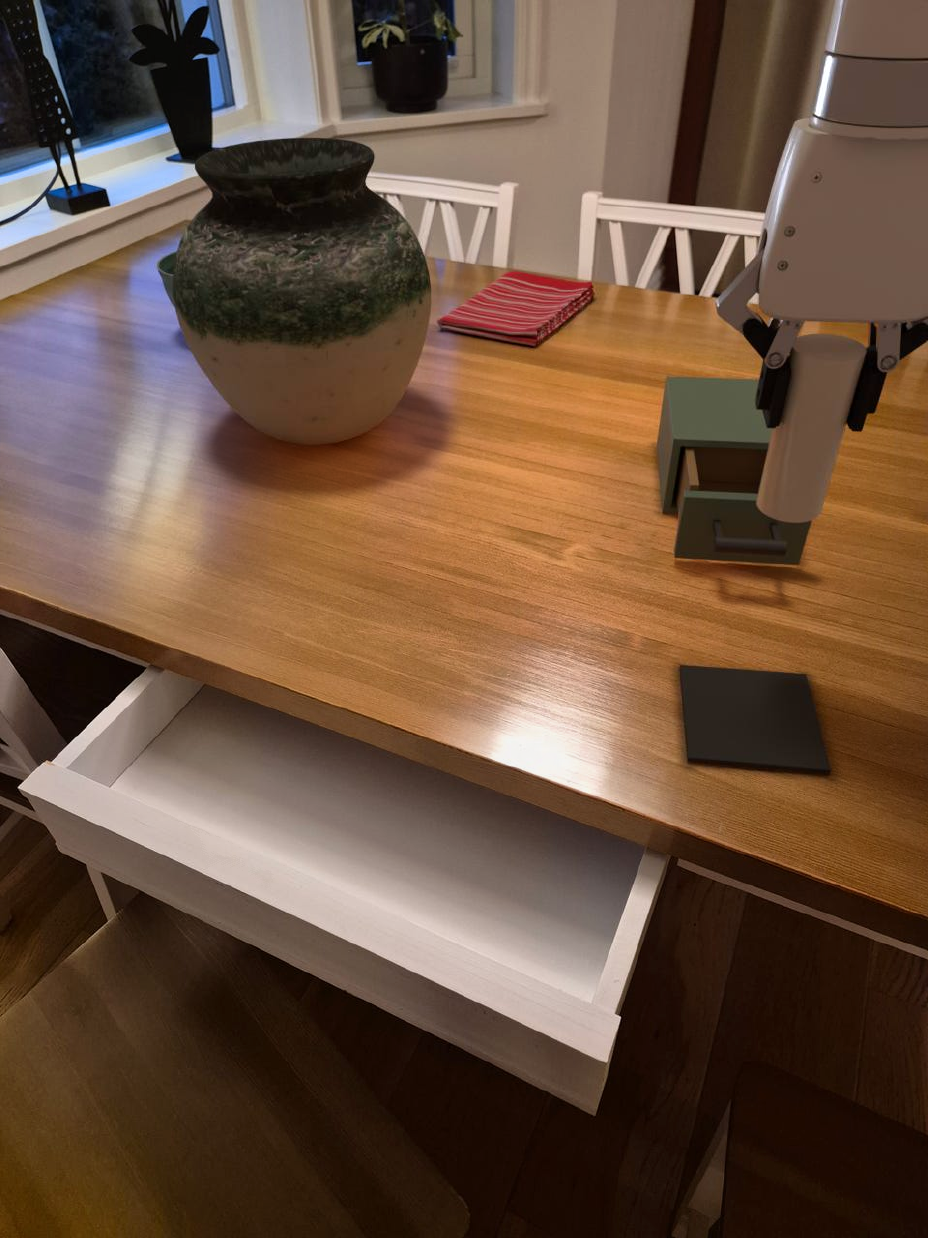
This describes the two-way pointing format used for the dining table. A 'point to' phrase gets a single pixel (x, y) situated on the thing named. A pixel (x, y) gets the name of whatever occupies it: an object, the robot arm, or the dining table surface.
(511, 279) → the dish towel
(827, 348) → the cylinder
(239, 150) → the vase
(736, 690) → the mat
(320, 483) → the dining table surface
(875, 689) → the dining table surface
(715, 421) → the cabinet
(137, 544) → the dining table surface
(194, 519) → the dining table surface
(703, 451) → the drawer
